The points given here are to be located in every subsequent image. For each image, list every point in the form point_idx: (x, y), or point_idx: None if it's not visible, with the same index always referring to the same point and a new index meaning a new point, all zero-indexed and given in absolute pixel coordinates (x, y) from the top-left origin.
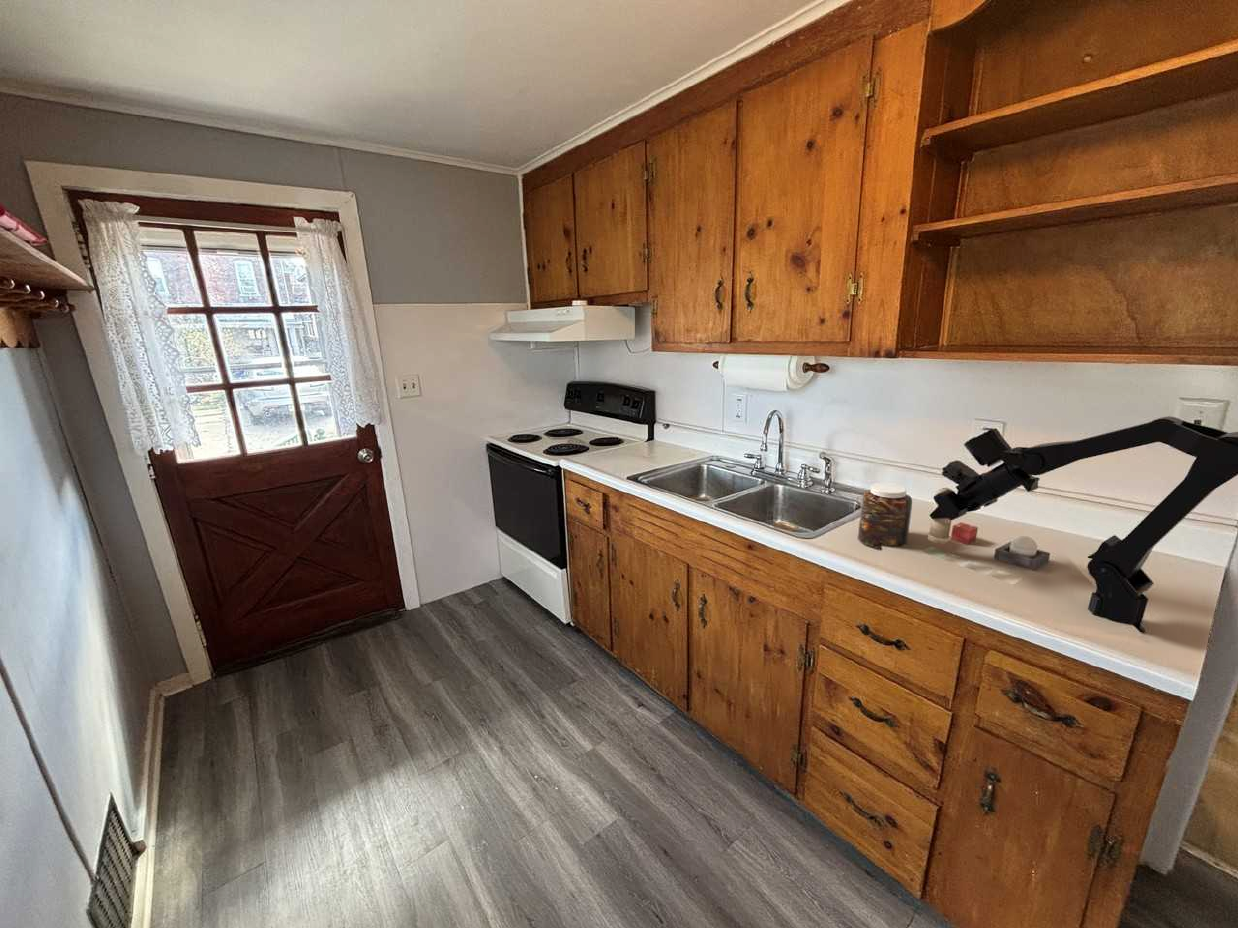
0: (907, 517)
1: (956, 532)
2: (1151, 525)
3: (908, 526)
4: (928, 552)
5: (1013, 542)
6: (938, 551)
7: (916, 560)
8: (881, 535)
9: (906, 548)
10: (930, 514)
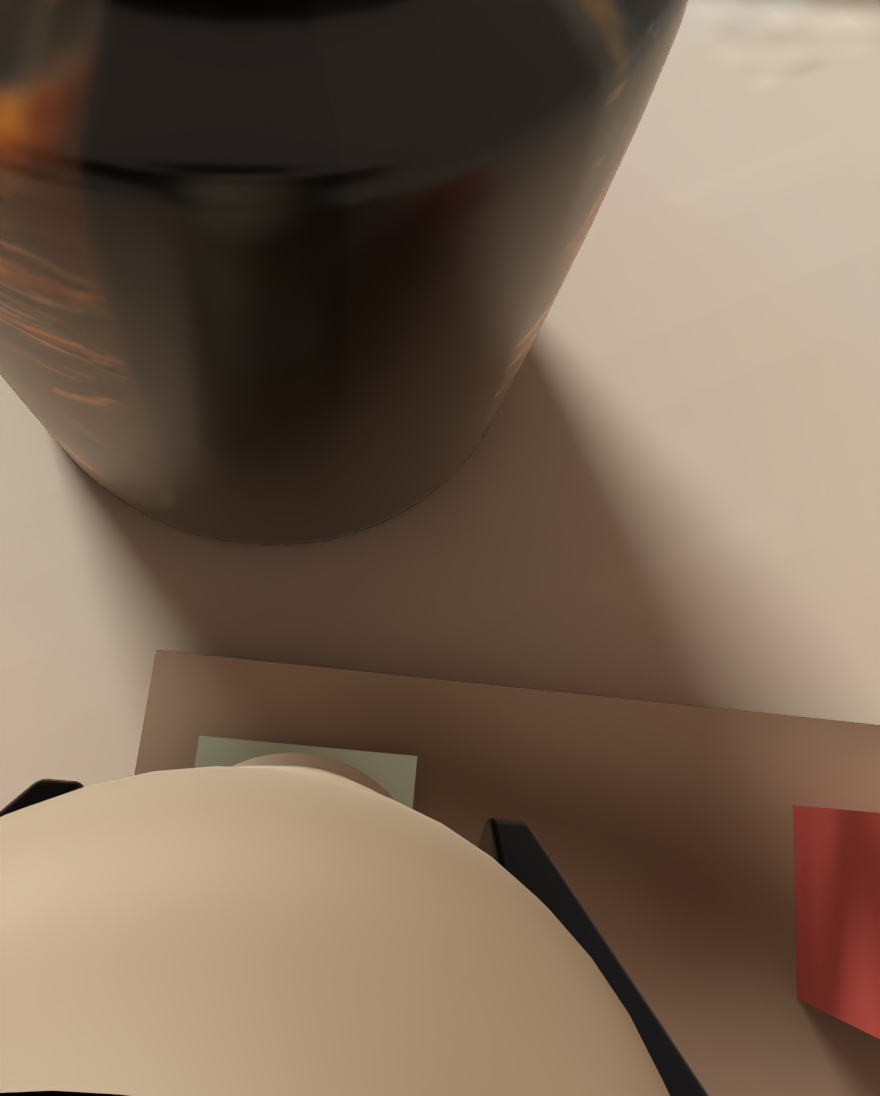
0: (192, 391)
1: (861, 868)
2: None
3: (301, 462)
4: None
5: None
6: None
7: (45, 764)
8: None
9: (290, 562)
10: (4, 808)
